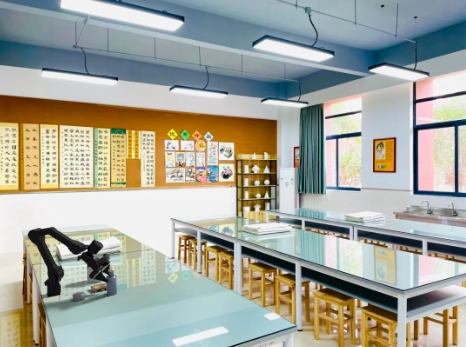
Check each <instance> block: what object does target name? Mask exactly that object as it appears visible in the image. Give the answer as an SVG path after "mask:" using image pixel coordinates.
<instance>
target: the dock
mask: <svg viewBox="0 0 466 347" xmlns="http://www.w3.org/2000/svg"><path fill="white" fill-rule="evenodd" d="M105 289H107V284H106V282H102V283H99V284H93V285H90V290H91V291H92V292H93V293H95V294H96V293H98V291H100V292H104V291H105Z"/></svg>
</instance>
